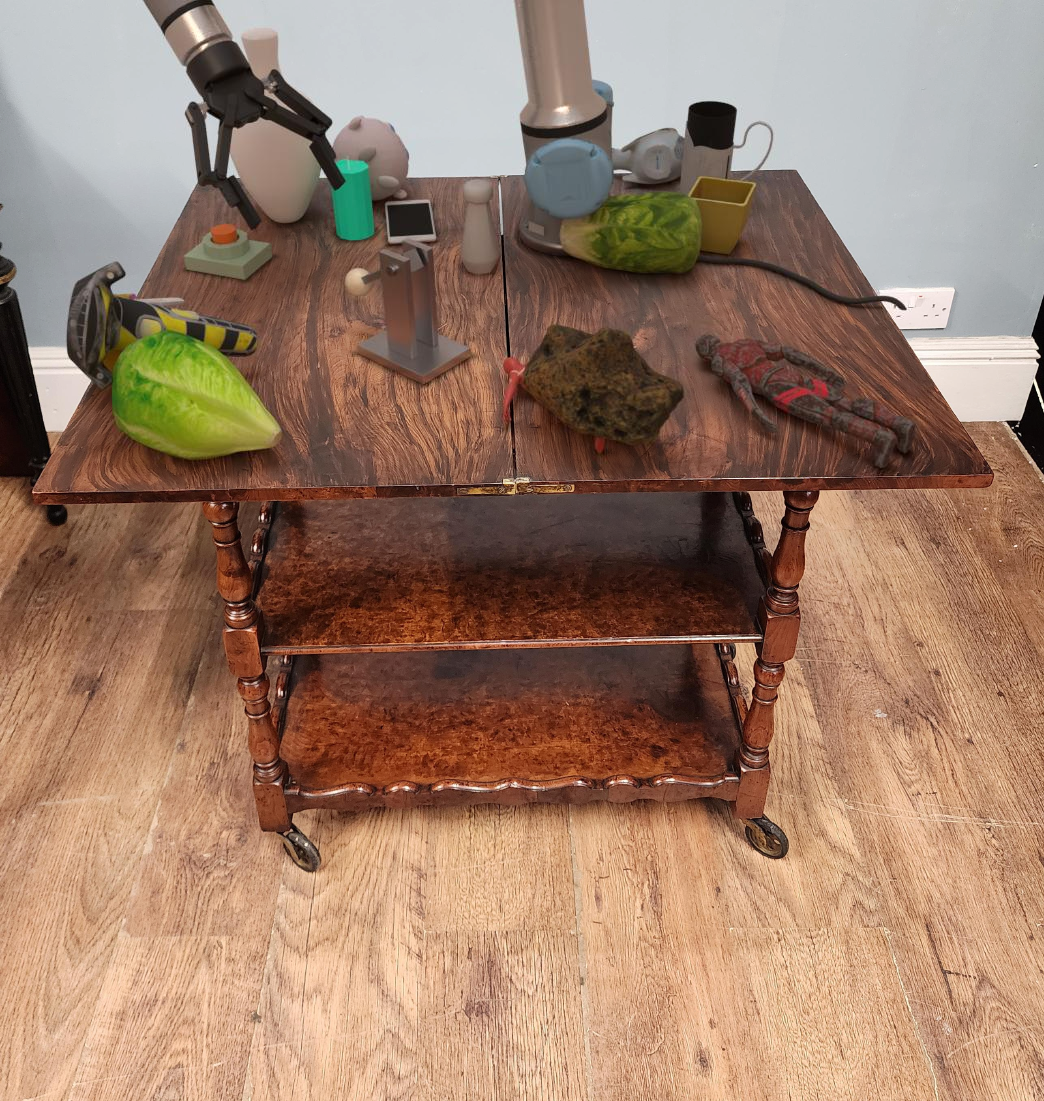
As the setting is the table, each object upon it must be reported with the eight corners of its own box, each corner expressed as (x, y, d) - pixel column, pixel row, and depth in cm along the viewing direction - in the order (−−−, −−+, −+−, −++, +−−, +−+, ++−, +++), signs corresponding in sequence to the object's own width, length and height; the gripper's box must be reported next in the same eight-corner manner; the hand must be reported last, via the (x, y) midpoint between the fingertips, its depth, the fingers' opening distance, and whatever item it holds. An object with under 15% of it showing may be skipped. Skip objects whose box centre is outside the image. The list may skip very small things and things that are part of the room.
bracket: (357, 353, 142) (345, 248, 132) (405, 327, 147) (397, 223, 138) (423, 385, 136) (415, 277, 127) (471, 356, 142) (467, 250, 132)
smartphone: (387, 241, 166) (384, 201, 177) (388, 245, 166) (384, 205, 177) (436, 238, 166) (430, 198, 178) (437, 242, 167) (430, 202, 178)
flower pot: (680, 254, 164) (685, 196, 158) (693, 231, 170) (699, 174, 164) (737, 263, 161) (745, 205, 156) (749, 239, 168) (757, 182, 162)
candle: (368, 242, 167) (360, 165, 159) (331, 238, 168) (321, 162, 160) (379, 225, 172) (372, 150, 164) (343, 222, 173) (335, 147, 165)
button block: (272, 256, 164) (268, 231, 161) (245, 280, 158) (240, 254, 155) (215, 247, 166) (210, 222, 164) (186, 269, 161) (180, 244, 158)
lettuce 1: (257, 509, 126) (228, 476, 115) (112, 438, 129) (69, 398, 117) (316, 410, 129) (293, 368, 118) (173, 342, 132) (137, 295, 120)
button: (242, 237, 160) (240, 226, 159) (229, 247, 158) (227, 236, 157) (221, 233, 161) (219, 222, 160) (208, 243, 159) (205, 232, 158)
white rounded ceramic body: (712, 133, 177) (700, 122, 186) (597, 132, 176) (590, 121, 184) (706, 187, 182) (694, 174, 190) (594, 187, 180) (587, 173, 189)
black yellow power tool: (297, 293, 130) (253, 284, 137) (84, 256, 111) (44, 247, 118) (282, 408, 133) (239, 394, 140) (70, 391, 114) (33, 375, 121)
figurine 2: (930, 436, 128) (732, 340, 144) (941, 401, 124) (737, 307, 141) (858, 487, 120) (658, 379, 137) (867, 451, 117) (662, 345, 134)
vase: (303, 244, 166) (275, 52, 148) (223, 229, 170) (187, 40, 152) (348, 208, 176) (327, 24, 158) (272, 195, 180) (243, 14, 162)
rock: (620, 359, 109) (499, 301, 122) (608, 464, 115) (494, 398, 128) (709, 336, 116) (586, 284, 129) (694, 435, 122) (578, 376, 135)
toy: (380, 112, 165) (377, 88, 177) (313, 151, 167) (314, 124, 179) (427, 195, 173) (420, 167, 185) (363, 231, 175) (360, 200, 187)
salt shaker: (485, 280, 158) (482, 194, 149) (452, 271, 160) (448, 185, 151) (506, 265, 161) (505, 179, 153) (474, 256, 164) (472, 171, 155)
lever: (347, 303, 142) (335, 277, 141) (367, 293, 145) (355, 267, 143) (409, 279, 132) (396, 251, 131) (430, 269, 134) (417, 241, 133)
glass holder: (680, 189, 182) (689, 97, 172) (765, 198, 179) (779, 105, 169) (671, 210, 175) (680, 116, 166) (759, 220, 172) (773, 124, 163)
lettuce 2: (561, 244, 165) (560, 176, 157) (697, 245, 164) (703, 176, 156) (557, 288, 158) (557, 219, 149) (700, 289, 156) (707, 219, 148)
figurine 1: (664, 419, 131) (550, 349, 141) (667, 394, 128) (552, 325, 139) (569, 473, 123) (456, 395, 133) (571, 448, 120) (455, 371, 131)
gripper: (280, 38, 147) (363, 181, 151) (117, 100, 135) (212, 253, 139) (297, 9, 140) (383, 159, 144) (128, 72, 129) (227, 233, 133)
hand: (299, 206), depth 142 cm, fingers open, 13 cm apart
